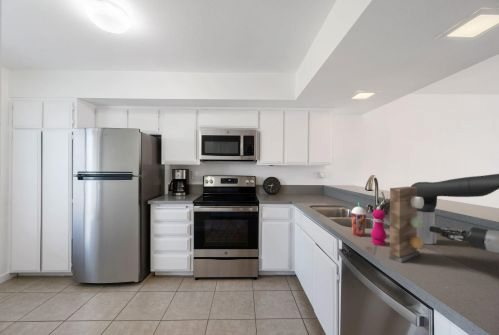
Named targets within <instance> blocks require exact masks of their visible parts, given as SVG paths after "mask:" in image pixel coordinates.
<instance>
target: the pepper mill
mask: <svg viewBox="0 0 499 335" xmlns="http://www.w3.org/2000/svg"><path fill="white" fill-rule="evenodd" d="M372 217H373V221H374V226H373V229H372V230H371V232H370V236H371V238H372V239H371V242H372V244H373V245H376V246H380V247H381V246H382V247H384V246H386V239H387V233H386V230H385V228H384V222H385V218H386V213H385V211H384V210H382V209H381V207H380V206H377V207H376V209H375V210H373V211H372Z"/></svg>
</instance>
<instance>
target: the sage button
mask: <svg viewBox="0 0 499 335" xmlns="http://www.w3.org/2000/svg"><path fill="white" fill-rule="evenodd" d="M410 224H411V227H414V228H418V229H422V227H423V224H424V220H423V218H421V217H416V216H413V217H412V218H411V221H410Z"/></svg>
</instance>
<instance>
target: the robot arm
mask: <svg viewBox="0 0 499 335" xmlns="http://www.w3.org/2000/svg"><path fill="white" fill-rule="evenodd" d="M410 187H417V197H422V198H423V200H424V205H423V207H422V208H417V217H421V218H423V220H424V224H423V227H422V229H418V228H417V237H420V238H422V239H423V242H424V243H423V245H434V244H435V245H436V244H437V234H439V235H440V236H441V237H444V238H446V239H448V240H451V241H455V240H457V241H459V242H464V241H467V242H468V243H469V246H470V247H471V248H473V249H478V250H482V251H487V252H492V253H496V254H499V230H494V229H488V228H482V227H481V228H480V227H475V226H472V227H471V228H470V229H469V231H468V230H466V228H460V227H459V228H458V227H438V226H436V225H435V223H436V220H435V217H436V216H435V215H436V214H435V213H436V212H435V210H436V208H437V204H438V197H448V198H450V197H453V198H472V197H473V198H476V197H477V198H479V197H484V196H485V197H486V196H487V195H488V196H489V195H490V194H493V193H495V192H496V191H497V190H499V173H495V174H486V175H484V174H483V175H477V176H476V175H475V176H474V175H473V176H466V177H458V178H451V179H445V180H440V181H435V182H434V181H433V182H432V181H431V182H429V181H420V182H415V183H413V184H412V185H411V186H410Z"/></svg>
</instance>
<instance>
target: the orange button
mask: <svg viewBox="0 0 499 335" xmlns="http://www.w3.org/2000/svg"><path fill="white" fill-rule="evenodd" d="M423 243H424V242H423V239H422V238H420V237H416V236H412V237H411V240H410V245H411V247H414V248H417V249H418V250H422V249H423V247H424V244H423Z"/></svg>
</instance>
